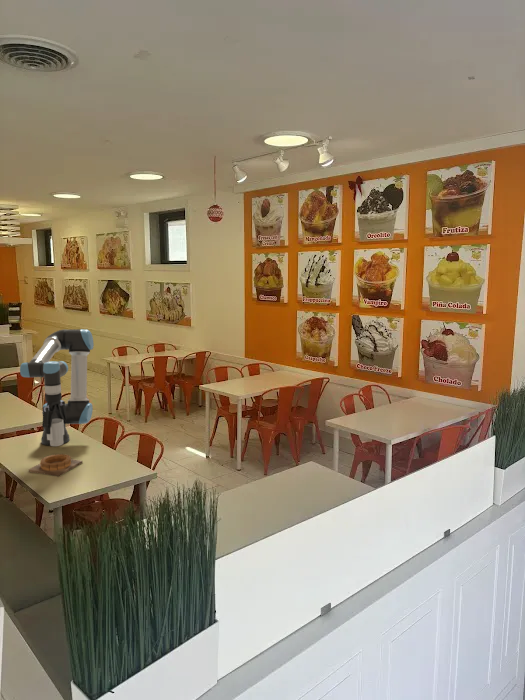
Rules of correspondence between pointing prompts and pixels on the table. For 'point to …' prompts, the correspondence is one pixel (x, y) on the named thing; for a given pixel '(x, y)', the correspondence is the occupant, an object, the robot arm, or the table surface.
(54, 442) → the cup
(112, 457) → the table surface
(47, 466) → the collar board
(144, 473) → the table surface
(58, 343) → the robot arm
